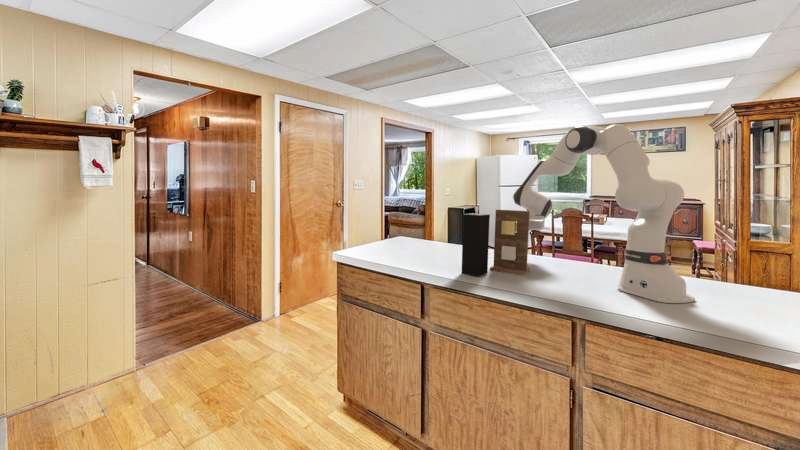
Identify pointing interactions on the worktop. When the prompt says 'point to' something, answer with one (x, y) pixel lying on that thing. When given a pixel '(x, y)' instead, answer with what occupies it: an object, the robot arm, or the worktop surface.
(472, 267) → the tall black box
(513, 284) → the worktop surface
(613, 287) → the worktop surface
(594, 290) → the worktop surface
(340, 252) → the worktop surface
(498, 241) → the call panel
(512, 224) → the upper button
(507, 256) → the lower button
